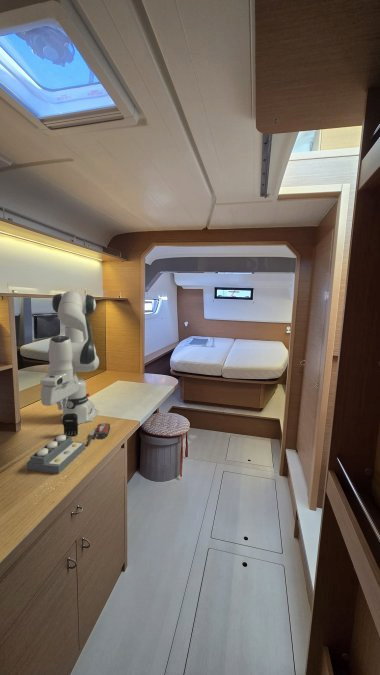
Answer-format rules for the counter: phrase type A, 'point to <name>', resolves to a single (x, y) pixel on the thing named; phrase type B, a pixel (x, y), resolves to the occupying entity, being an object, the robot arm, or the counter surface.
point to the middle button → (52, 445)
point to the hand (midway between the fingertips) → (62, 408)
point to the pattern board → (56, 457)
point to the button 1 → (42, 452)
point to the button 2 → (61, 438)
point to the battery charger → (70, 424)
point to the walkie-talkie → (99, 432)
